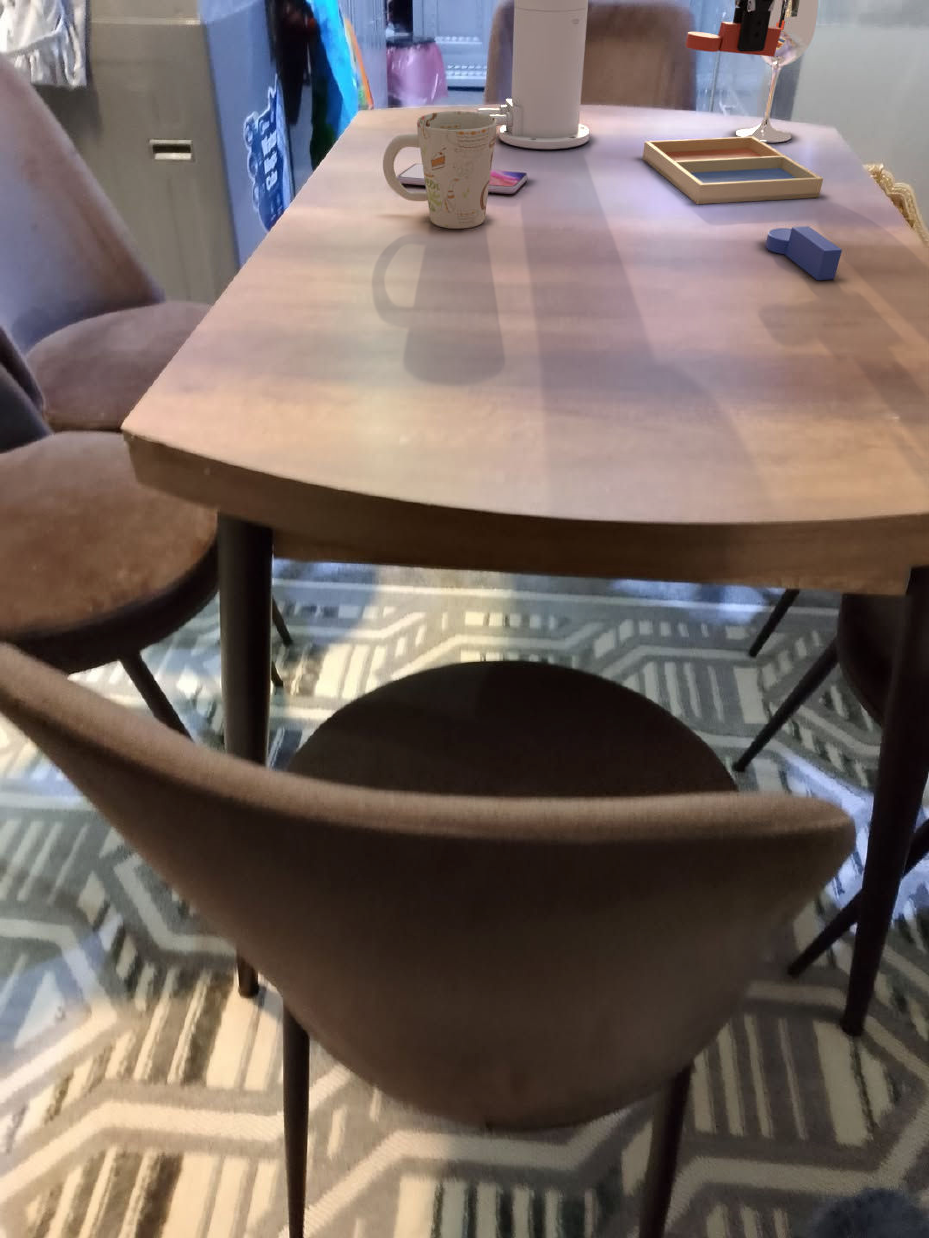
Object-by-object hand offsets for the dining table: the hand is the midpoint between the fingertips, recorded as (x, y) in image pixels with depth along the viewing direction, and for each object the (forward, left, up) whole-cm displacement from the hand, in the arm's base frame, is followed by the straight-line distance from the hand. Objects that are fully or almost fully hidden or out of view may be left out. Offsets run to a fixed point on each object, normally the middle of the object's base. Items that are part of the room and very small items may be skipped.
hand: (746, 48), depth 109 cm
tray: (-2, -5, -13) cm, 14 cm away
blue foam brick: (-6, -34, -13) cm, 37 cm away
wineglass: (+11, +13, -13) cm, 22 cm away
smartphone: (-35, -2, -13) cm, 37 cm away
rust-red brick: (-2, 0, 0) cm, 2 cm away
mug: (-40, -15, -13) cm, 45 cm away
